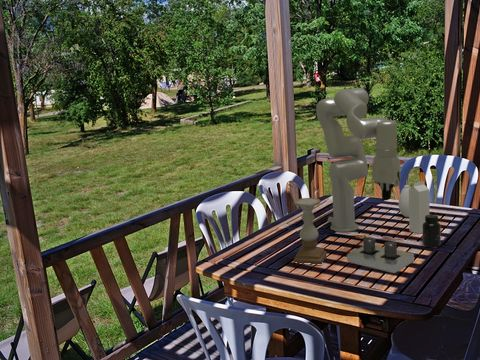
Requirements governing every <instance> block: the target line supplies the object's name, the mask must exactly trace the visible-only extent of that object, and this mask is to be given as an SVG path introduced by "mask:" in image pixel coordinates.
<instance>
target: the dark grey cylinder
mask: <svg viewBox="0 0 480 360" xmlns="http://www.w3.org/2000/svg"><path fill="white" fill-rule="evenodd" d="M383 247H384V254H385V259H390V260H395V259H397V250H398V248H397V247H398V244H397V242H395V241H386V242H384V243H383Z"/></svg>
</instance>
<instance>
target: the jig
mask: <svg viewBox="0 0 480 360" xmlns="http://www.w3.org/2000/svg"><path fill="white" fill-rule="evenodd" d="M362 241H363V243H362V246H360V247H358V248H356V249H355V250H352V251H350V252H349V253H346V262H347V261H348V262H347V263H350V262H351V263H350V264H354V263H355V265H359V266H363V267H366V268H369V269H370V268H371V269H375V270H380V271H383V272H387V273H391V274H396V273H398V272H400V271H401V270H403V269H404V268H405V267H407V266H409V265H410V264H412V263H414V262H415V254H414V253H412V252H407V251H403V250H398V249H397V259H395V260H390V259H385V254H384V246H383V247H382V246H378V245H376V238H374V237H363V240H362Z"/></svg>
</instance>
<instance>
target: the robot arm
mask: <svg viewBox="0 0 480 360" xmlns="http://www.w3.org/2000/svg"><path fill="white" fill-rule="evenodd" d="M369 99H370V98H369V94H368V92H367V90H366V89H365V88H363V87H353V88H345V89H344V88H343V89H340V90H338V91H337V92H336V93H335V94H334V96H333V97H327V98H324V99H321V100H319V101H318V103H317V104H316V110H315V111H316V117H317V120H318V122H319V125H320V126H321V129H322V131H323V136H324V140H325V145H326V148H327V149H326V150H327V152H328V155H329V157H330V158H331V159H341V160H335V161H334V162H332V163H331V164H330V165H329V167H328V174H329V179H330V183H331V193H332V211H333V212H332V213H333V215H332V216H328V219H327V223H331V225H330V230H331V231H333V230H334V232H338V233H351V232H354V231H357V230H359V224H358V223H356V218H355V217H356V216H355V192H354V189H353V187H352V185H351V184H350V182H351V181H354V180H362V179H364V178H366V177H367V176H368V173H369V167H368V163H367V162H368V161H367V158H366V153H365V150H364V149H365V148H364V145H363V142H362V140H366V139H373V138H375V140H376V141H375V142H376V144H375V145H376V148H374V149H373V153H375V155H374V157H373V161H372V169H371V179H372V181H373V183H374V184H376V185H378V186H379V187H380V190H381V197H382V200H383V201H389V200H390V199H391V198H392V189H394V188H396V187H400V185H401V184H400V181H401V165H400V159H399V156H397V155H398V153H397V152H398V149H397V147H398V146H397V145H398V138H397V137H398V135H397V134H398V124H397V122H396V121H395V120H393V119H392V120H391V119H390V120H389V119H388V118H386V117H383V116H382V117H373V118H372V117H371V118H364V117H365V116H366V114H367V112H368V106H367V105H368V103H369ZM340 116H346V119H345V120H346V126H347V129H348V130H349V132H350V133H351V135H344V131H343V127H342V125H341V123H340V122H339V121H338V120H337V119H335V118H334V117H340ZM363 118H364V119H363ZM348 157H349V158H350V159H349V158H348ZM344 158H348V159H344Z"/></svg>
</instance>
